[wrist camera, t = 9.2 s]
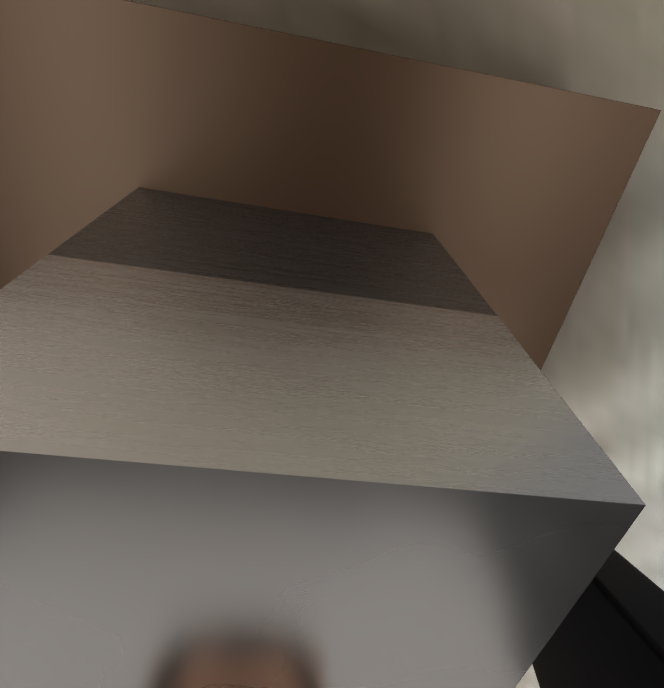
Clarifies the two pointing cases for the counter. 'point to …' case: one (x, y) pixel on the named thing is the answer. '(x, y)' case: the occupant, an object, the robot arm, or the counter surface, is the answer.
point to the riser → (306, 144)
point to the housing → (280, 462)
